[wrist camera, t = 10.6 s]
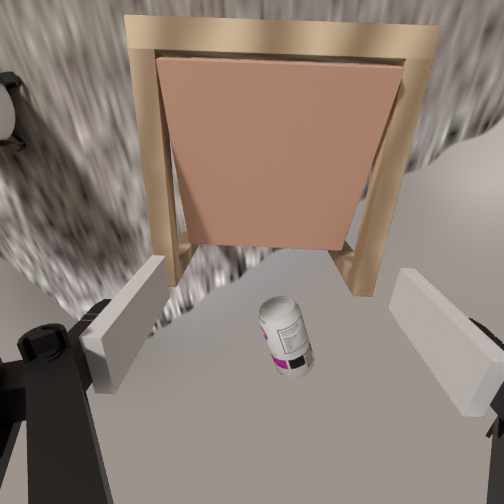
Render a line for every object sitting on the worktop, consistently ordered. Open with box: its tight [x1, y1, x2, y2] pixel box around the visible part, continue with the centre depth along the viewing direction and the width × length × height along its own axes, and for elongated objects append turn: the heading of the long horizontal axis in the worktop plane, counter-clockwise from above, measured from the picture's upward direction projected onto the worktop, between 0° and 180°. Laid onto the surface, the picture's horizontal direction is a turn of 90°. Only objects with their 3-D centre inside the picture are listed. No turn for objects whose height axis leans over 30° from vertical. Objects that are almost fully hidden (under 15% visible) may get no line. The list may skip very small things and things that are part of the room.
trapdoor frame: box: [124, 15, 442, 297], centre depth 34 cm, size 23×23×22 cm
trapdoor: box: [156, 57, 405, 251], centre depth 27 cm, size 18×18×2 cm
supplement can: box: [259, 296, 314, 378], centre depth 54 cm, size 8×8×15 cm
